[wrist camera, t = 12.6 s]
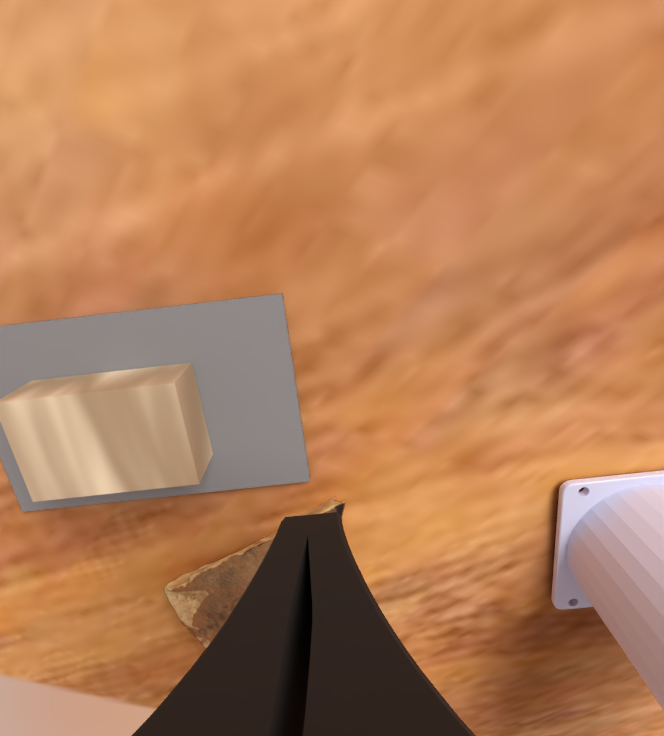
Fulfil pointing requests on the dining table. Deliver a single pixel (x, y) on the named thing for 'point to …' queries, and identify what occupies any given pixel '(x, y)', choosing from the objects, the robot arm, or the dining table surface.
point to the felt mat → (213, 376)
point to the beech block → (108, 432)
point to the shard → (223, 584)
